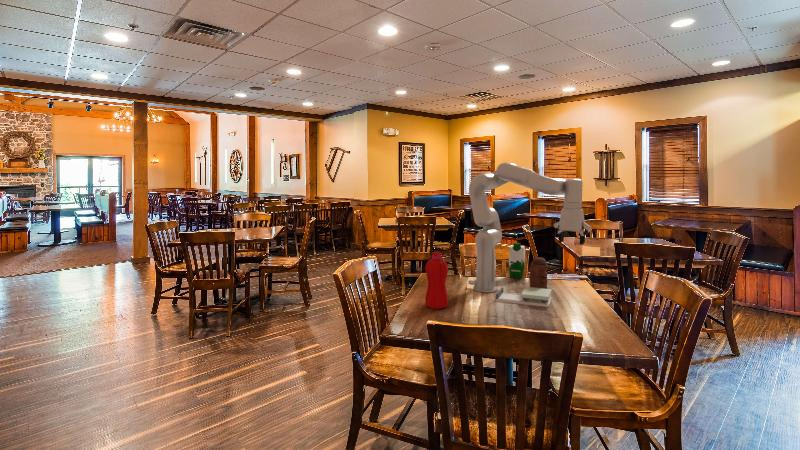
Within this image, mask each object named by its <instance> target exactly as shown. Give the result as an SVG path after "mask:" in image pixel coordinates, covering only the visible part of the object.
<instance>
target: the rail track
mask: <svg viewBox="0 0 800 450" xmlns="http://www.w3.org/2000/svg"><path fill="white" fill-rule="evenodd" d="M521 294H522V293H516V292H515V293H514V292H505V291H504V287H501V288H499V289H498V290H497V291H496V293H495V299H494V300H495V302H499V303H500V302H502V303H511V304H519V305H527V306H528V305H529V306H537V307H544V308H549V306H550V303H551V301H552V296H550V298H549V300H548V301H547V302H546V303H543V302H541V299H531V298H529V300H528V301H524V300H523V298H522V297H521Z"/></svg>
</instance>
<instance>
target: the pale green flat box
mask: <svg viewBox="0 0 800 450" xmlns="http://www.w3.org/2000/svg"><path fill="white" fill-rule="evenodd" d="M520 294H521V297H522V298H523V300H524V301H528V300H529V298H531V299H541V302H543V303H546V302H547V301H548V300H549V298H550V297H551V295H552V289H551V288H547V289H543V288H533V287H530V286H525V287H524V289H523V290H522V292H521V293H520Z"/></svg>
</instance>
